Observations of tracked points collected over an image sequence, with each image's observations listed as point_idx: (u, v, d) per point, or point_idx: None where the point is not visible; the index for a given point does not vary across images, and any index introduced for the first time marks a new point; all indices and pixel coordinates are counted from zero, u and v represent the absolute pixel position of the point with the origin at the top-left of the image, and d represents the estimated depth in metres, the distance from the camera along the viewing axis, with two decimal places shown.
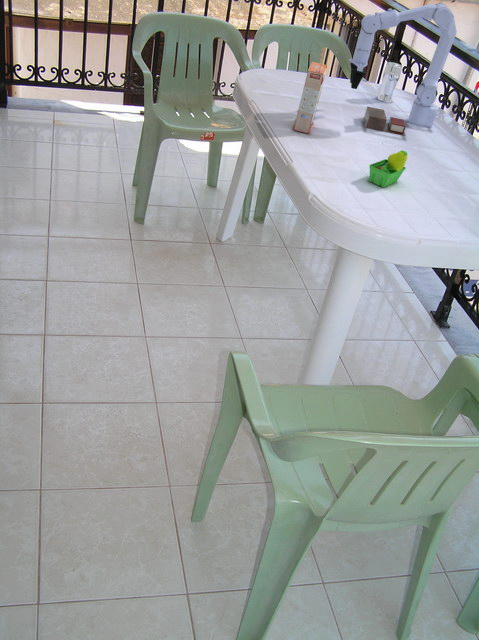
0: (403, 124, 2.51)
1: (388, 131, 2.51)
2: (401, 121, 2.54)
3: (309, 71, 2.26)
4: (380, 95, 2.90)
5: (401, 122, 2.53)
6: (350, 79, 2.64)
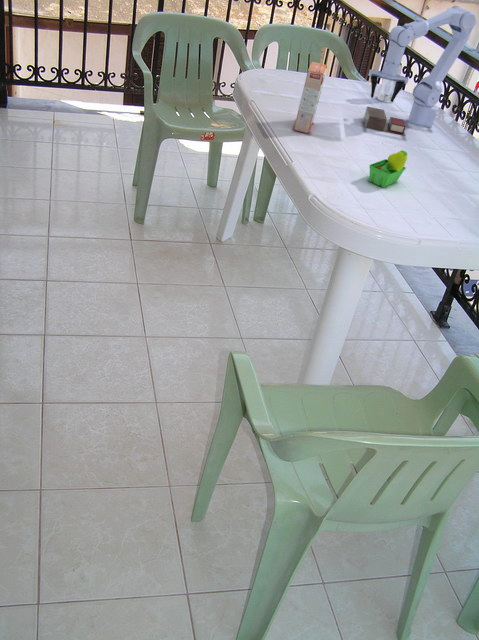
0: (403, 124, 2.51)
1: (388, 131, 2.51)
2: (401, 121, 2.54)
3: (309, 71, 2.26)
4: (380, 95, 2.90)
5: (401, 122, 2.53)
6: (373, 94, 2.54)
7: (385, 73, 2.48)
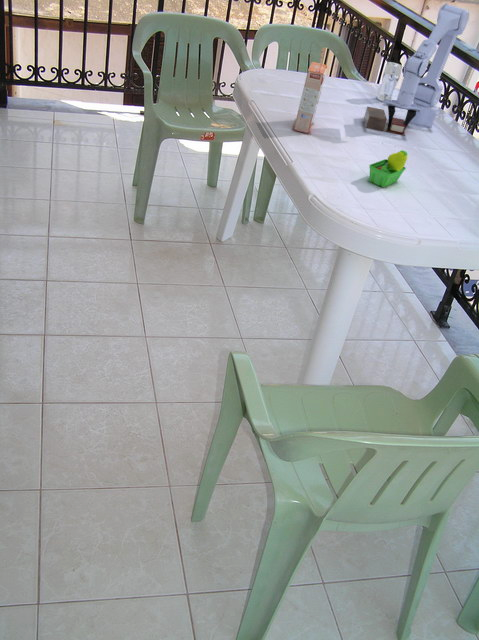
0: (403, 124, 2.51)
1: (388, 131, 2.51)
2: (401, 121, 2.54)
3: (309, 71, 2.26)
4: (380, 95, 2.90)
5: (401, 122, 2.53)
6: None
7: (400, 103, 2.48)
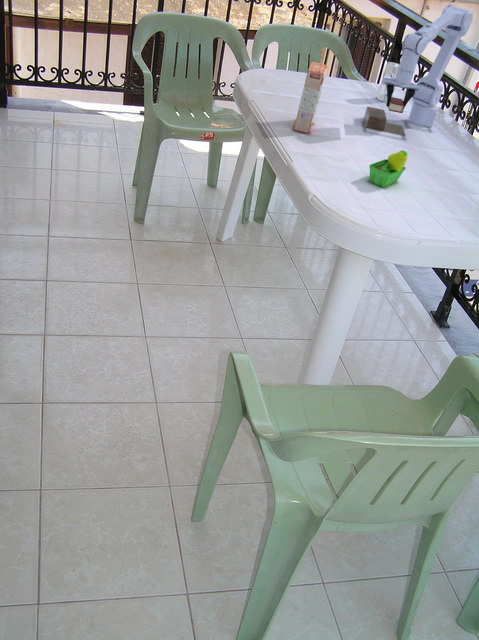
0: (402, 103, 2.47)
1: (388, 131, 2.51)
2: (400, 100, 2.50)
3: (309, 71, 2.26)
4: (380, 95, 2.90)
5: (400, 101, 2.49)
6: (389, 103, 2.49)
7: (399, 81, 2.43)
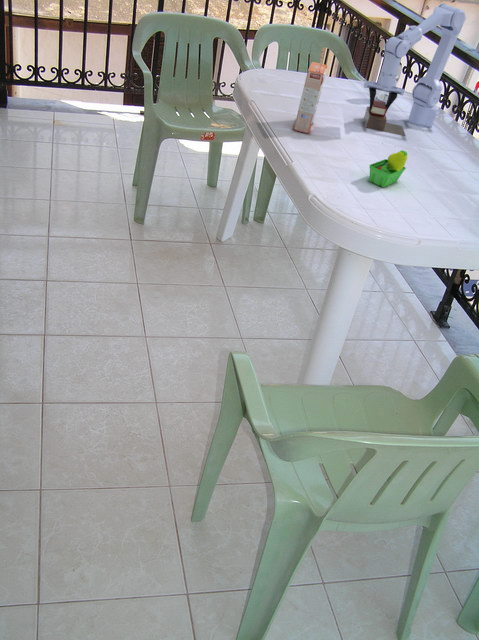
0: (384, 106, 2.48)
1: (388, 131, 2.51)
2: (383, 104, 2.51)
3: (309, 71, 2.26)
4: (380, 95, 2.90)
5: (383, 105, 2.50)
6: None
7: (381, 84, 2.45)
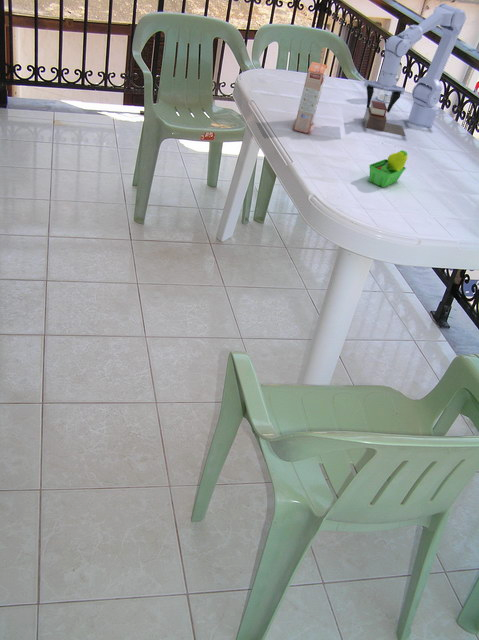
0: (384, 107, 2.49)
1: (388, 131, 2.51)
2: (382, 104, 2.51)
3: (309, 71, 2.26)
4: (380, 95, 2.90)
5: (382, 105, 2.50)
6: (369, 105, 2.50)
7: (381, 83, 2.44)
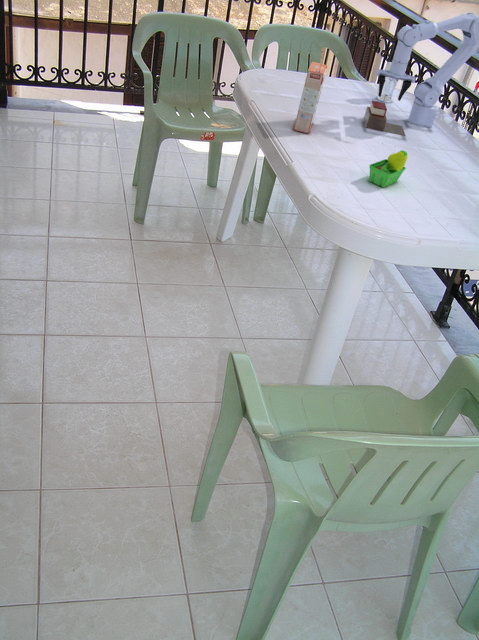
0: (384, 107, 2.49)
1: (388, 131, 2.51)
2: (382, 104, 2.51)
3: (309, 71, 2.26)
4: None
5: (382, 105, 2.50)
6: (381, 93, 2.58)
7: (393, 72, 2.52)
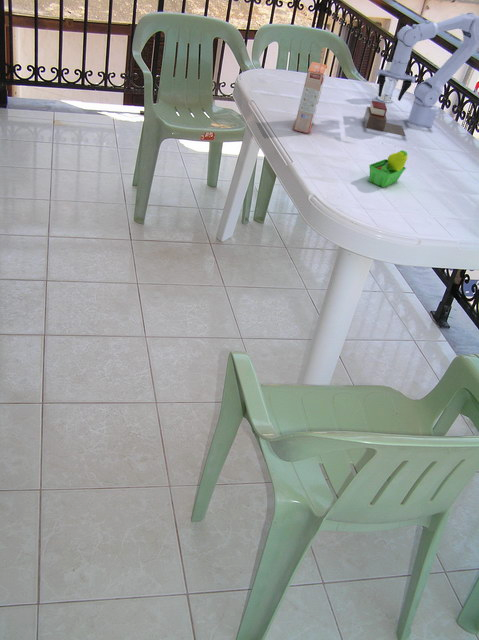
0: (384, 107, 2.49)
1: (388, 131, 2.51)
2: (382, 104, 2.51)
3: (309, 71, 2.26)
4: None
5: (382, 105, 2.50)
6: (381, 93, 2.58)
7: (393, 72, 2.52)
